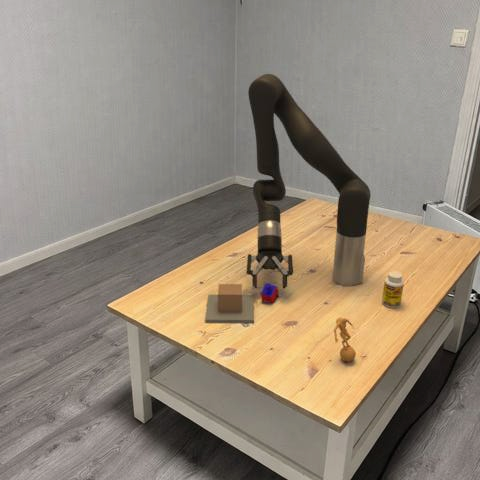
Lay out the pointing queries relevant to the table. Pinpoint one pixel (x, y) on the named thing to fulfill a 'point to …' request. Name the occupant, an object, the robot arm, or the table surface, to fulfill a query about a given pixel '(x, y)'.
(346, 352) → the figurine
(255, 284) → the robot arm
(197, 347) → the table surface
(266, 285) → the toy building block
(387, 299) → the supplement bottle
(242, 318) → the plate
